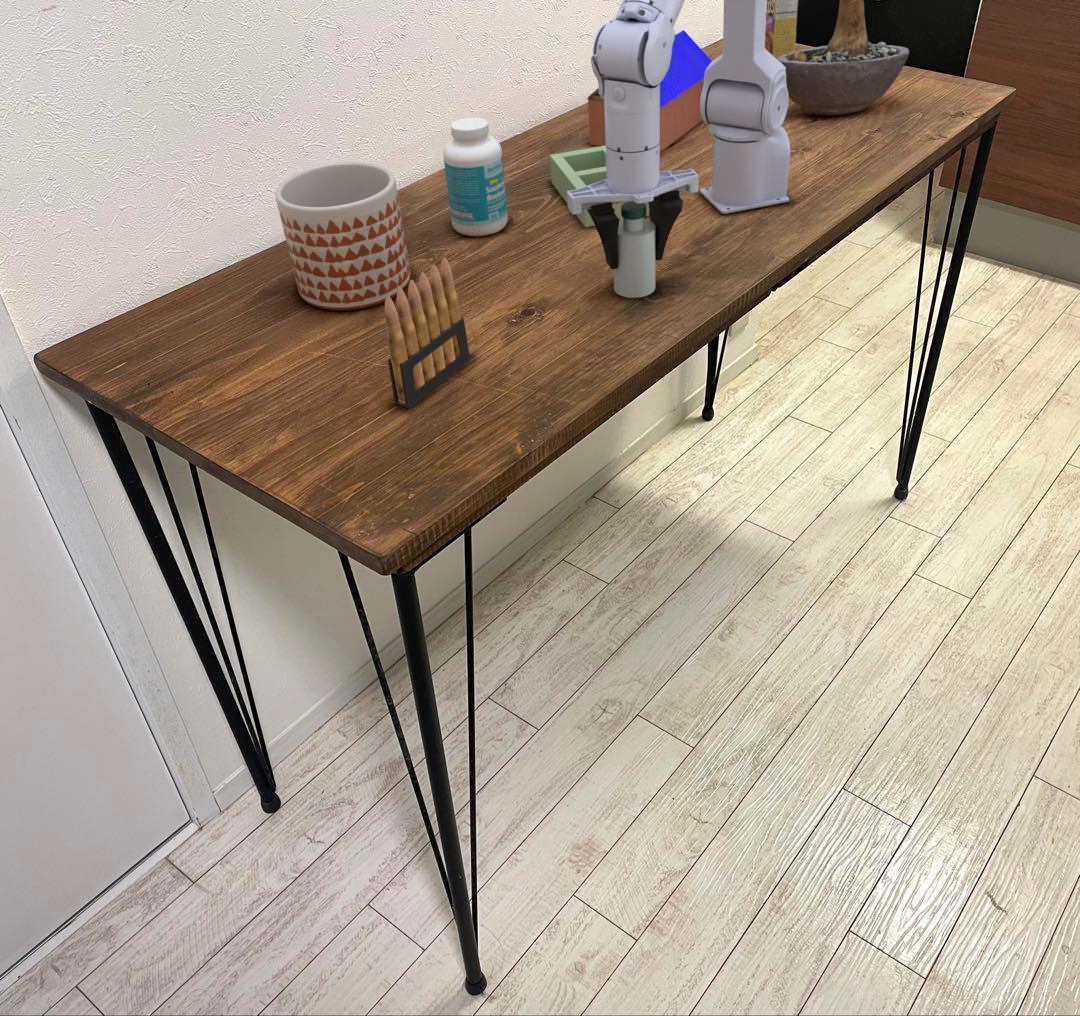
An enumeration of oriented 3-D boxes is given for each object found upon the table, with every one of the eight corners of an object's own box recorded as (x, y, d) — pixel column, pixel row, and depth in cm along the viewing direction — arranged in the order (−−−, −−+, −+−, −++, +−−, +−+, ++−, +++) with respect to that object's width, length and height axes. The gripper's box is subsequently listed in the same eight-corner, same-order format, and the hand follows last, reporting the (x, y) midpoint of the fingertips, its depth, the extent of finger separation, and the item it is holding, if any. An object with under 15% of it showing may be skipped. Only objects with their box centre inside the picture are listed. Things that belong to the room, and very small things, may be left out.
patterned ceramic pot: (379, 318, 117) (359, 213, 109) (277, 305, 122) (251, 203, 113) (429, 265, 127) (414, 164, 119) (334, 254, 131) (313, 157, 123)
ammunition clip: (457, 354, 110) (442, 251, 102) (470, 358, 109) (457, 255, 102) (394, 404, 103) (373, 298, 96) (408, 409, 103) (388, 302, 95)
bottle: (647, 275, 121) (646, 194, 115) (661, 293, 117) (661, 210, 111) (608, 282, 120) (606, 201, 114) (621, 301, 117) (620, 218, 110)
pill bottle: (501, 239, 131) (490, 134, 123) (446, 238, 133) (431, 134, 124) (514, 215, 137) (504, 112, 128) (461, 213, 138) (448, 113, 130)
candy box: (756, 57, 181) (762, -39, 172) (780, 54, 181) (787, -41, 172) (769, 72, 175) (776, -26, 165) (794, 69, 175) (802, -29, 165)
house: (716, 111, 162) (719, 33, 154) (657, 156, 149) (657, 73, 142) (649, 102, 167) (649, 26, 160) (586, 144, 155) (583, 64, 147)
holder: (610, 172, 146) (609, 144, 143) (649, 215, 134) (649, 186, 131) (551, 182, 144) (549, 154, 142) (585, 227, 132) (583, 198, 130)
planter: (766, 119, 157) (776, -23, 145) (820, 87, 167) (834, -49, 154) (855, 137, 149) (874, -12, 137) (906, 102, 159) (928, -40, 146)
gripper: (578, 167, 104) (583, 288, 112) (711, 144, 106) (706, 264, 115) (558, 144, 109) (565, 261, 118) (686, 122, 111) (683, 238, 120)
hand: (633, 261), depth 117 cm, fingers closed on bottle, 5 cm apart
